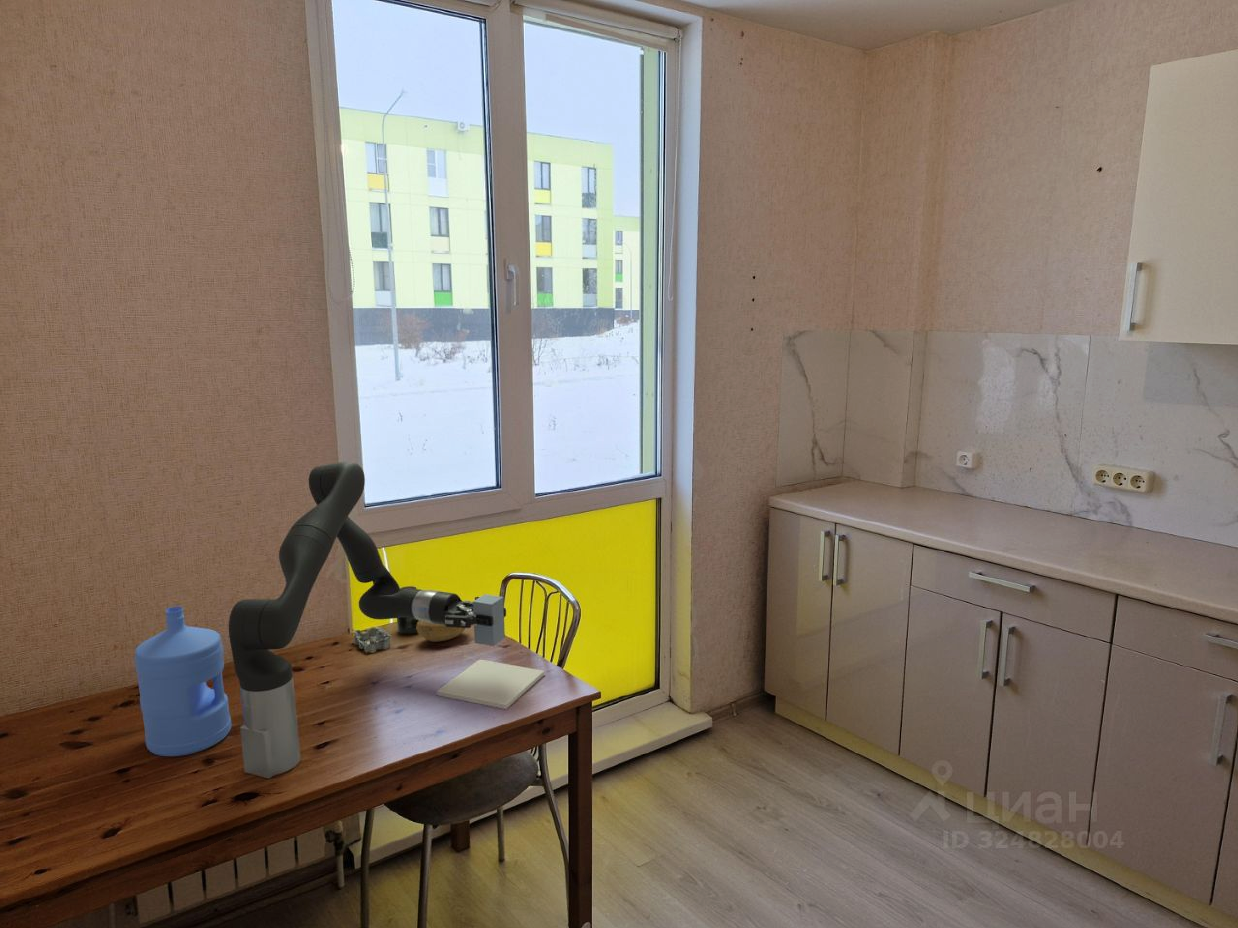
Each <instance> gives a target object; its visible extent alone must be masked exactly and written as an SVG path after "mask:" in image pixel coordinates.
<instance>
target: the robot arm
mask: <svg viewBox="0 0 1238 928" xmlns="http://www.w3.org/2000/svg"><path fill="white" fill-rule="evenodd" d="M308 475H309V476H308V486H309V491H310V494H311V496H312V499H313V500H314V503H316V506H314V507H313V508H312V509H310V510H309V511H307V512H306V513H304V515H302V516H301V517H300V518H299V519H297V521H295V522H294V523H293V524H292V526H291V527H290V529H289V530H288V532H287V534H286V536H285V538H284V539H283V541H282V543H281V545H280V548H279V550H278V561H279V564H280V568H281V570H282V573H283V576H284V579H285V587H284V589H283V591H282V593H281V595H280V596H278V598H275V599H273V598H269V599H268V598H267V599H263V598H262V599H261V598H260V599H259V598H256V599H255V598H247V599H241V600H239V601H237V602H236V603H235V605H233V606H232V609H231V611H230V614H229V618H228V636H229V637H228V638H229V643H230V648H231V654H232V661H233V665H234V666H233V667H234V672H235V675H236V677H237V679H238V680H239V681H238V682H239V689H240V690H239V692H240V700H241V706H242V707H241V709H242V717H243V724H241V725H240V727H239V731H240V740H241V749H242V750H241V752H242V758H243V766H244V767H243V768H244V773H247V774H251V775H253V776H258V777H261V778H265V779H270V778H272V777H274V776H278V775H280V774H283V773H286V772H288V771H289V770H292V769H293V768H295V767H296V766H297V765H298V764H299V763H300V761H301V751H300V739H299V730H298V729H299V728H298V718H297V716H298V715H297V709H296V698H295V697H296V695H295V685H294V679H293V678H294V677H293V667H292V664H291V663H290V661H289V660H288V659H286V658H285V657H282V656H279V655H278V654H275V653H273V652H272V651H270V650H281V649H284V648H286V647H287V646H288V645H289V644H290V643H291V642H292V640H293V639H294V637H295V634H296V632H297V630H298V627H299V625H300V622H301V619H302V616H303V614H304V611H305V609H306V608H305V607H306V606H307V602H308V599H309V597H310V594H311V592H312V589H313V587H314V585H315V582H316V581H317V578H318V576H319V574H320V572H321V571H322V569H323V567H324V565H325V563H326V561H327V559H328V556H329V554H330V552H331V551H332V548H333V545H334V544H335V541H336V539H338V542H340V545H341V547H342V549H343V551H344V553H345V555H346V558H347V561H348V562H349V566H350V568H351V570H352V573H353V575H354V577H355V579H356V580H357V581H358V582H359V583H361V584H362V583H363V584H366V583H371V582H372V584H373V585H371V587H370V588H368V589H367V590H366V591H365V592H364V593H363V594H362V595H361V596H360V598H359V600H358V608H359V611H360V612H361V613H362V614H363V615H364V616H365V617H367V618H370V619H373V620H389V619H390V620H393V619H397V618H400V617H406V618H412V619H418V620H421V621H424V622H429V623H435V624H441V625H445V626H446V627H456V628H465V629H470V628H472V626H473V627H474V626H476V625H478V624H479V625H485V626H492V625H493V624H494V621H493V617H492V616H487V615H480V614H479V615H478V616H477V614H476V613H473V601H471V600H462V599H461V597H460V596H459V595H458V594H456V593H453V592H445V591H441V590H434V589H433V590H432V589H418V588H417V589H413V588H405V589H402V590H400V585H399V583H398V581H397V580H396V579H395V578H394V577H393V575H392V574H391V573H390V571H389V570H388V568H386V566H385V565H384V563H383V561H382V557H381V554H380V553H379V550H378V548H377V545H376V543H375V542H374V540H373V539H372V537H371V536H370V535H369V533H367V532H366V531H365V530H364V529H362V527H360V526H359V525H358V524H357V523H356V522H355V521H353V520H352V519H351V517H350V516H349V515H350V514H351V512H352V511H353V509H354V508H355V507H356V505H357V503H358V502H359V500H360V498H361V497H362V495H363V492H364V489H365V485H366V479H365V472H364V470H363V468H362V467H361V465H359V463H357V462H353V461H341V462H335V463H334V462H333V463H329V464H323V465H319V466H315V467H314V468H312V469H311V471H310V472H309V474H308ZM479 597H480V596H475V597H474V601H475V600H476V599H478V598H479ZM506 616H507V609H506V608H505V607H504V618H505V617H506ZM461 622H462V623H464V624H462V623H461Z"/></svg>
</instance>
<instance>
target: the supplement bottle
mask: <svg viewBox="0 0 1238 928" xmlns="http://www.w3.org/2000/svg"><path fill="white" fill-rule="evenodd" d="M405 588H413V589H418V588H417V587H416V586H413V585H412V586H411V585H410V586H403V587H401V588H400V590H402V589H405ZM418 621H419V620H418V619H412V618H406V617H400V618H396V624H397V625H396V626H397V632H398V633H399V634H400V635H403V636H409V635H410V636H411V635H416V634H418V632H417V629H416V625H417V622H418Z"/></svg>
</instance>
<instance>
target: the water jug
mask: <svg viewBox="0 0 1238 928" xmlns="http://www.w3.org/2000/svg"><path fill="white" fill-rule="evenodd" d="M183 610H184V607H183V606H172V607H168V608H167V609H165V611H164V614H166V615H165V616H166V618H165V622H166V625H167V627H166V629H165V630H163V631H161V632H160V633H158V634H156V635H154V636H152V637H150V638H148V639H146V640H145V641H143V642H141V643H140V644H139V645H138V646H137V647H136V649H135V650H134V666H135V671H136V674H137V675H136V676H137V682H138V689H139V696H140V697H139V703H140V709H141V713H142V719H143V725H144V727H143V728H144V733H145V735H144V740H145V745H146V748H147V750H149V752H151V753H152V754H154V755H156V756H161V757H181V756H187V755H191V754H195V753H199V752H202V751H204V750H206V749H208V748H211V747H213V746H214V745H216V744H218V743H220V742H221V741H222V740H224V739H225V738H227V736H228V735H229V733H230V732H231V729H232V718H231V717H232V716H231V715H230V706H229V696H228V694H226V693H225V690H224V681H223V673H222V672H223V670H224V667H225V663H224V648H223V643H222V638H221V635H220V633H219V632H218V631H216V630H214V629H210V628H204V627H195V626H190V625H189V626H187V625H186V624H185V623H186V622H185V615H184V613H183ZM210 680H212V684H213V688H210V687H209V686H208V685H207V682H209V681H210Z"/></svg>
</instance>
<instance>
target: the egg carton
mask: <svg viewBox="0 0 1238 928" xmlns="http://www.w3.org/2000/svg"><path fill="white" fill-rule="evenodd" d="M351 631H353V632H354V636H353V642H354V643H353V644H354V645H357V646H358V648H359V649H361V650H362V649H364V650H363V651H365V652H366V654H367V652H370V653H371V654H375V653H376V652H377V651H378V650H387V649H389V647H390V646H391V636H392V635H391V634H389V633H388V632H387V631H386V630H385V629H383V627H381V626H380V625H379V626H375V627H370V628H369V629H367V628H365V630H364V631H363V632H361V630H360V629H354V628H352V629H351ZM361 640H362V641H361ZM364 640H365V641H364ZM377 649H378V650H377ZM365 652H364V653H365Z"/></svg>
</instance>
